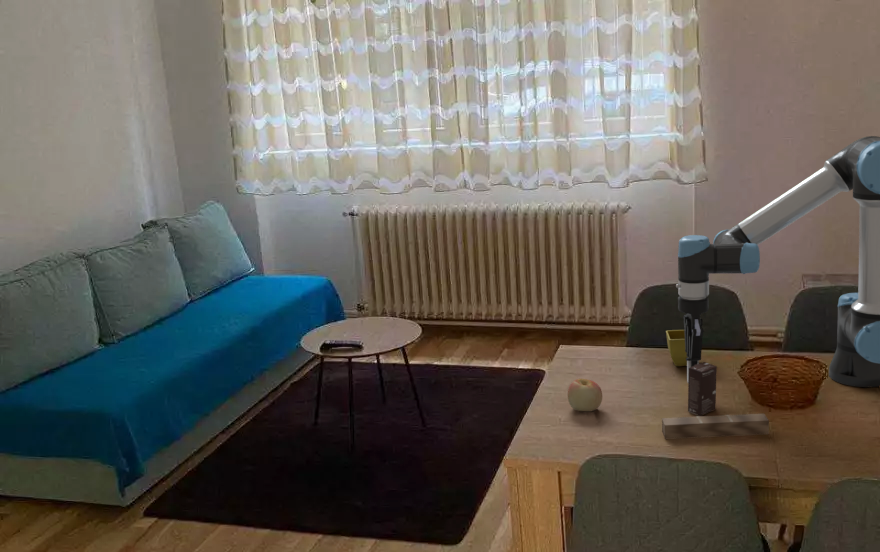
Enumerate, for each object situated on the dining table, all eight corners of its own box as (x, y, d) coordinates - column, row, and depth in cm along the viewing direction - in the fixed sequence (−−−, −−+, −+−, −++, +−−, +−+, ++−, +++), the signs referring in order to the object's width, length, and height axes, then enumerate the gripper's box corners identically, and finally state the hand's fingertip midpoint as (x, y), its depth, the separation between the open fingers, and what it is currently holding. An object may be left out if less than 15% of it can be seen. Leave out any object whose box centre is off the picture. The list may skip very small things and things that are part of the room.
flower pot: (666, 358, 256) (665, 329, 254) (696, 357, 255) (696, 328, 253) (669, 369, 248) (669, 339, 246) (701, 368, 247) (700, 338, 244)
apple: (571, 402, 231) (570, 374, 229) (605, 404, 228) (604, 376, 226) (565, 416, 223) (563, 387, 221) (599, 418, 220) (598, 388, 218)
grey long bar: (763, 426, 207) (763, 413, 206) (768, 434, 203) (768, 419, 202) (662, 431, 209) (661, 417, 208) (665, 438, 205) (664, 424, 205)
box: (701, 417, 216) (701, 371, 213) (687, 411, 219) (686, 367, 216) (717, 410, 219) (717, 365, 216) (703, 405, 222) (703, 361, 219)
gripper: (673, 289, 228) (673, 373, 234) (683, 303, 215) (683, 392, 221) (702, 288, 227) (701, 372, 233) (714, 302, 215) (713, 391, 221)
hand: (692, 382), depth 227 cm, fingers closed
